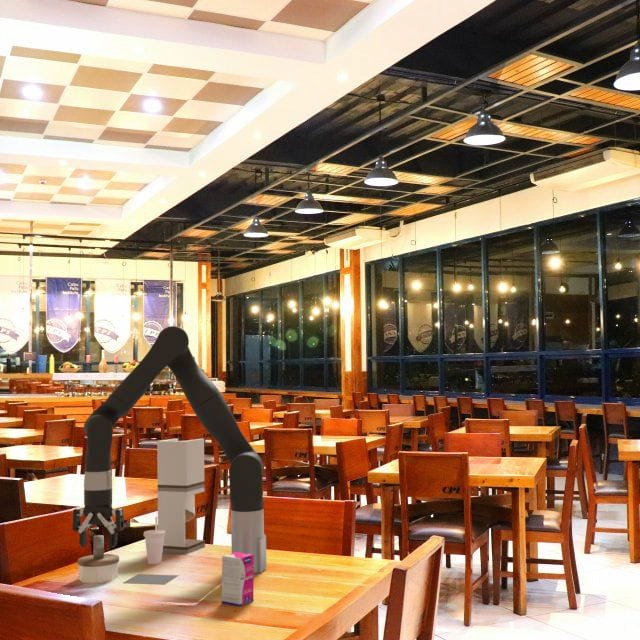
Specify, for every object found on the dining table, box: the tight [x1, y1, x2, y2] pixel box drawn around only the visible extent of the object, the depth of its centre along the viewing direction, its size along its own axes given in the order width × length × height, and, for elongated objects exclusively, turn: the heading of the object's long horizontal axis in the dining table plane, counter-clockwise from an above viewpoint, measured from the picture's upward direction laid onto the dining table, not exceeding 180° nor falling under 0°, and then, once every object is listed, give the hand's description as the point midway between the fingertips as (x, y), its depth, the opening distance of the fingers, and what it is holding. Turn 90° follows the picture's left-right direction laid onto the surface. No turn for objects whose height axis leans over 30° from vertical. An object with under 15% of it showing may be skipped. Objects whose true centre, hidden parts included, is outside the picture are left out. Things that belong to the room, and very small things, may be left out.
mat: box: [122, 573, 179, 586], centre depth 225 cm, size 12×10×1 cm
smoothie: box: [143, 516, 165, 565], centre depth 246 cm, size 6×6×14 cm
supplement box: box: [221, 552, 255, 607], centre depth 203 cm, size 6×6×12 cm
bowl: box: [78, 562, 119, 584], centre depth 227 cm, size 10×10×5 cm
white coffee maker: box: [156, 437, 206, 555], centre depth 268 cm, size 11×11×35 cm
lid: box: [77, 534, 120, 567], centre depth 228 cm, size 11×11×7 cm
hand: (98, 546), depth 228 cm, fingers open, 8 cm apart
